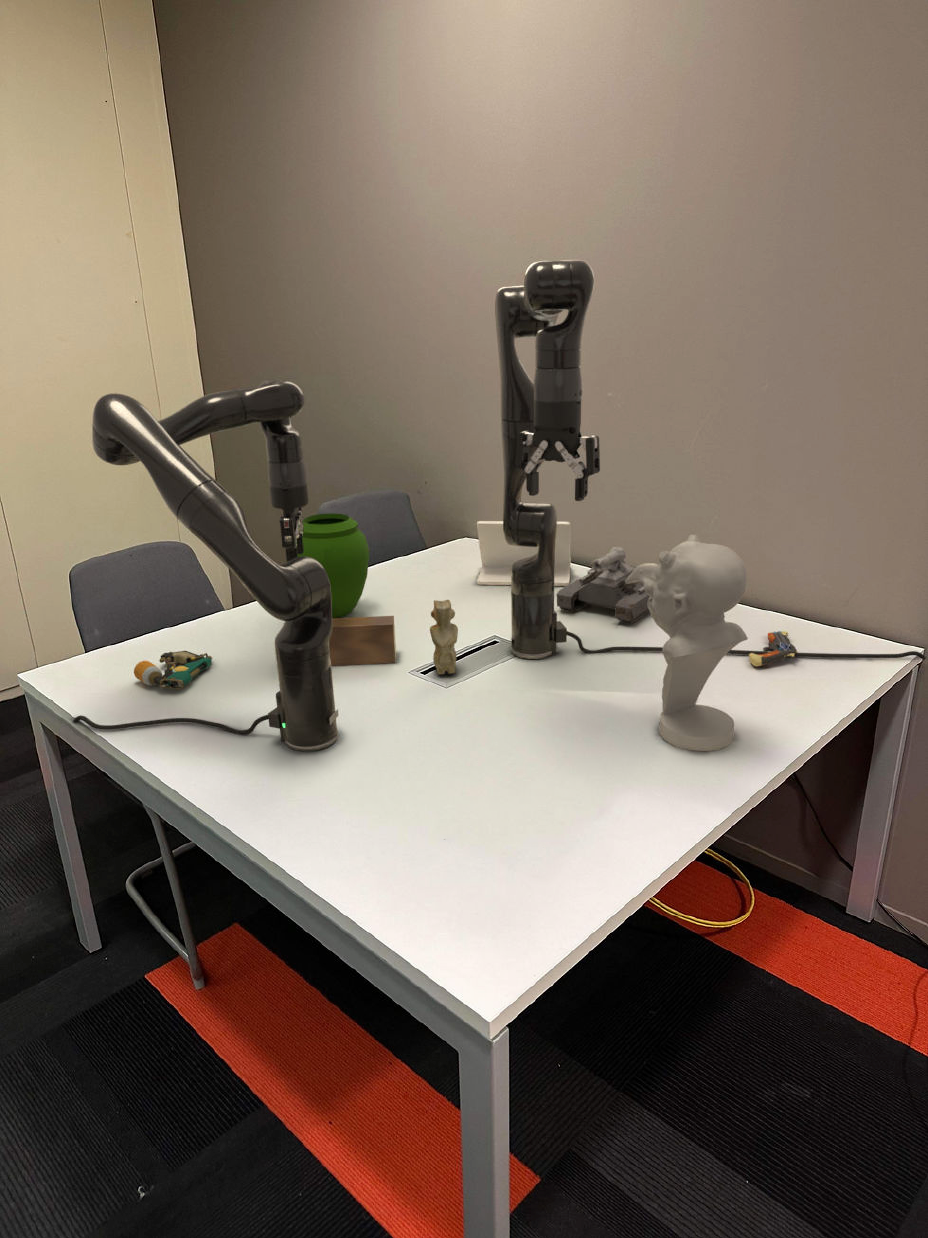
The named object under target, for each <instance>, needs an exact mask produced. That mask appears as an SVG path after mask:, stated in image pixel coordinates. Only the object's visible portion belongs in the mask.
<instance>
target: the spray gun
mask: <svg viewBox="0 0 928 1238" xmlns="http://www.w3.org/2000/svg"><path fill="white" fill-rule="evenodd" d="M212 660H213V657H212V656H211V655H208V653H207V652H205V653H201V654H197V653H194V652H192V651H191V652H190V651H188V650H180V651H169V652H164V653H162V654H161V655H160V658H159V660H158V662H159V663H161V664H163V663H165V664H166V668H165V670H163V672H164V674H163V673H162V669H160V668H159V666H157V665H156V664H154V663H152V662H151V661H149V660H141V661H139V662H138V663H136V665H135V666H134V668H133V675H134V677H135V678H136V679H137V680H139V681H140V682H142V683H143V684H145V685H147V686H155V685H157V686H158V687H160V688H161V689H171V690H172V689H173V690H182V689H184V687H185V686H186V685H188V684H189V683H190V682H191V681H192V679H193V678H195V677H196V676H197V675H198V674H200V673H201V672H202V671H203V670H206V669H208V668H209V667H210V666H211V665H212V662H213V661H212ZM178 663H179V664H181V665H179V666H176V665H177V664H178Z"/></svg>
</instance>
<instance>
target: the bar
mask: <svg viewBox="0 0 928 1238" xmlns="http://www.w3.org/2000/svg"><path fill="white" fill-rule="evenodd" d="M329 647H330V658H331V667H333V666H354V665H355V666H356V665H376V664H396V662H397V643H396V626H395V616H394V615H379V616H378V615H377V616H354V617H353V616H352V617H342V618H332V633H331V636H330V639H329Z"/></svg>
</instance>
